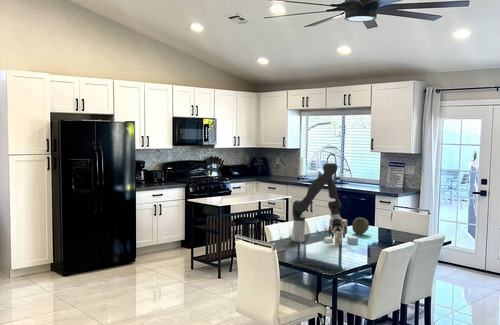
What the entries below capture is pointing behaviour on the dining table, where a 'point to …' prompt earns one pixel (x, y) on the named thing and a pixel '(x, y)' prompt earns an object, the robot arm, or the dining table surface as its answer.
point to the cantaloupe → (360, 225)
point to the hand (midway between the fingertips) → (338, 237)
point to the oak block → (338, 237)
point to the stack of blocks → (343, 222)
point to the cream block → (328, 239)
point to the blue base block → (352, 239)
